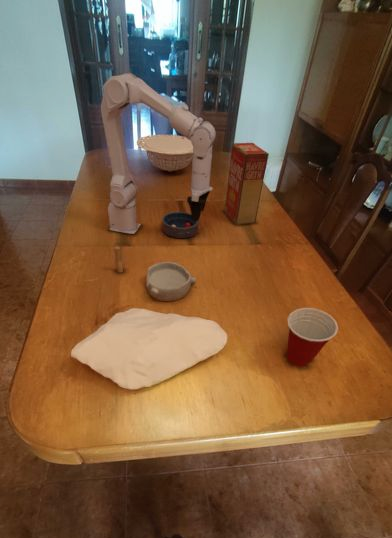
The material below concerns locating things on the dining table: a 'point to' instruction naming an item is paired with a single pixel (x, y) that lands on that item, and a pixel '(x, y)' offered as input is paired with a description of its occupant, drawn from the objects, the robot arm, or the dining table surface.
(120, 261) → the stick
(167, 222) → the bowl
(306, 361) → the plastic cup
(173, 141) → the woven basket
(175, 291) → the dish
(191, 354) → the crumpled cloth
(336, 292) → the dining table surface
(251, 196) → the food packaging
